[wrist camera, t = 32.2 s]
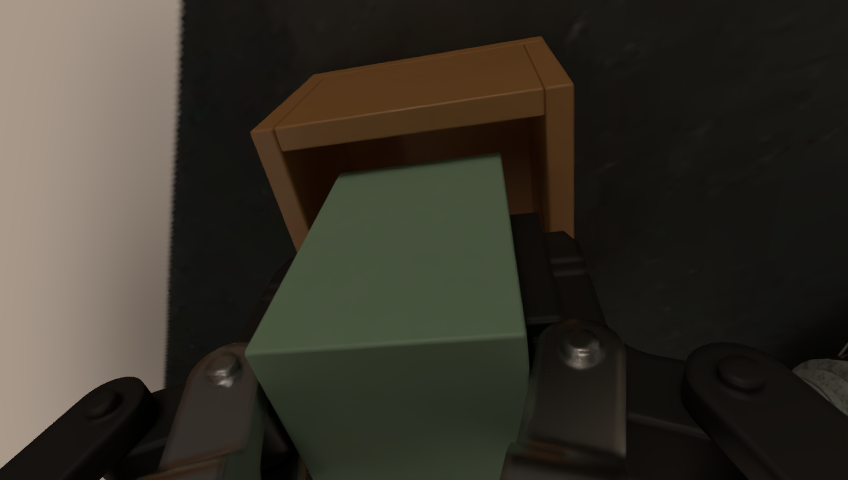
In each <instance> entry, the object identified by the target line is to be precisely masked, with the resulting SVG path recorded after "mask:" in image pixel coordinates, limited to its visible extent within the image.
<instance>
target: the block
mask: <svg viewBox="0 0 848 480" xmlns="http://www.w3.org/2000/svg"><path fill="white" fill-rule="evenodd" d="M245 357H246V359H247V361H248V363H249V365H250V366H251V368H252V370H253V372H254V374H255V375H256V377H257V379H258V381H259V383H260V384H261V386H262V388H263V390H264V392H265V393H266V395H267V397H268V399H269V401H270V402H271V404H272V406H273V408H274V410H275V411H276V413H277V415H278V417H279V419H280V420H281V422H282V424H283V426H284V428H285V429H286V431H287V433H288V435H289V437H290V439H291V440H292V442H293V444H294V446H295V448H296V449H297V451H298V453H299V455H300V457H301V458H302V460H303V462H304V464H305V466H306V467H307V469H308V471H309V473H310V475H311V476H312V478H313V480H500V476H501V472H502V467H503V463H504V458H505V455H506V452H507V449H508V447H509V445H510V443H511V442H514V443H515V442H516V440H517V437H518V433H519V428H520V423H521V418H522V414H523V409H524V404H525V399H526V394H527V389H528V384H529V379H530V369H529V356H528V344H527V333H526V326H525V319H524V312H523V305H522V298H521V291H520V284H519V277H518V270H517V263H516V256H515V249H514V242H513V235H512V228H511V221H510V214H509V207H508V200H507V193H506V186H505V179H504V173H503V166H502V159H501V154H500V153H499V152H496V153H488V154H481V155H473V156H466V157H458V158H451V159H443V160H436V161H428V162H420V163H413V164H405V165H398V166H390V167H383V168H375V169H368V170H360V171H352V172H345V173H341V174H339V176H338V178H337V180H336V182H335V184H334V186H333V187H332V189H331V191H330V193H329V195H328V197H327V199H326V201H325V202H324V204H323V206H322V208H321V210H320V212H319V214H318V216H317V217H316V219H315V221H314V223H313V225H312V227H311V229H310V231H309V232H308V234H307V236H306V238H305V240H304V242H303V244H302V245H301V247H300V249H299V251H298V253H297V255H296V257H295V259H294V260H293V262H292V264H291V266H290V268H289V270H288V272H287V274H286V275H285V277H284V279H283V281H282V283H281V285H280V287H279V289H278V290H277V292H276V294H275V296H274V298H273V300H272V302H271V303H270V305H269V307H268V309H267V311H266V313H265V315H264V317H263V318H262V320H261V322H260V324H259V326H258V328H257V330H256V332H255V333H254V335H253V337H252V339H251V341H250V343H249V345H248V346H247V348H246V350H245Z"/></svg>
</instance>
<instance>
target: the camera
mask: <svg viewBox="0 0 848 480" xmlns="http://www.w3.org/2000/svg"><path fill="white" fill-rule="evenodd" d="M792 372H793V373H795V374H796V375H797V376H798V377H800V378H801V379H802V380H803V381H805V382H806V383H807V384H808V385H810V386H811V387H812V388H813V389H815V390H816V391H817V392H818V393H820V394H821V395H822V396H823V397H824V398H826V399H827V400H828V401H829V402H831V403H832V404H833V405H834V406H836V407H837V408H838V409H839V410H841V411H842V412H843V413H844V414H846V415H847V416H848V343H847V344H846V346H845V347H844V348H843V349H842V351H841V352H840V353H839V355H838V356H835V357H831V358H827V359H812V360H809V361H806V362H803V363H801V364H800V365H798V366H797V367H795V368H794V369H793V370H792Z"/></svg>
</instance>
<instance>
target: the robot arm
mask: <svg viewBox="0 0 848 480" xmlns="http://www.w3.org/2000/svg"><path fill="white" fill-rule="evenodd" d="M510 221H511V228H512V235H513V242H514V249H515V256H516V263H517V270H518V277H519V284H520V291H521V298H522V305H523V312H524V319H525V326H526V333H527V344H528V356H529V369H530V379H529V384H528V389H527V394H526V399H525V404H524V409H523V414H522V418H521V423H520V428H519V433H518V437H517V440H516V442H515V443H514V442H511V443H510V445H509V447H508V449H507V452H506V455H505V458H504V463H503V467H502V472H501V476H500V480H629V479H631V480H848V416H847V415H846V414H844V413H843V412H842V411H841V410H839V409H838V408H837V407H836V406H834V405H833V404H832V403H831V402H829V401H828V400H827V399H826V398H824V397H823V396H822V395H821V394H820V393H818V392H817V391H816V390H815V389H813V388H812V387H811V386H810V385H808V384H807V383H806V382H805V381H803V380H802V379H801V378H800V377H798V376H797V375H796V374H795V373H793V372H792V371H791V370H790V369H789V368H787V367H786V366H785V365H784V364H782V363H781V362H780V361H778V360H777V359H775V358H774V357H772V356H770V355H768V354H767V353H765V352H762V351H760V350H758V349H755V348H752V347H749V346H746V345H741V344H736V343H725V342H719V343H711V344H707V345H703V346H701V347H699V348H697V349H695V350H694V351H693V352H692V353H691V354H690V355H689V356H688V358H687V360H686V361H683V360H678V359H672V358H667V357H661V356H656V355H652V354H647V353H644V352H641V351H638V350H636V349H634V348H632V347H630V346H628V345H626V344H625V343H623V341H622V340H621V338H620V337H619V336H618V335H617V334H616V333H615V332H614V331H613V330H612V329H610V328H609V327H608V325H607V323H606V321H605V318H604V315H603V312H602V309H601V307H600V304H599V301H598V298H597V295H596V292H595V289H594V287H593V284H592V281H591V278H590V275H589V274H588V270H587V267H586V264H585V261H584V259H583V255H582V252H581V250H580V247H579V244H578V242H577V241H575V240H574V239H573V238H572V237H571V236H569V235H568V234H567V233H566V232H565V231H557V232H547V233H543V230H542V226H541V222H540V218H539V214H538V212H532V213H522V214H513V215H510ZM294 259H295V258H290V259H289V260H288V261H287V262H286V263H285V264H284V265H283V266H282V267H280V268H279V269H278V270H277V271H276V272H275V274H274V275H273V277H272V279H271V281H270V283H269V284H268V286H267V290H265V291H264V293H263V295H262V297H261V298H260V302H258V304H257V305H256V307H255V309H254V311H253V312H252V314H251V316H250V318H249V319H248V321H247V323H246V325H245V327H244V328H243V330H242V332H241V334H240V335H239V337H238V339H237V341H236V342H235V343H234V344H229V345H226V346H224V347H221V348H219V349H217V350H215V351H213V352H212V353H210V354H209V355H207V356H206V357H205V358H203V359H202V360H201V361H200V362H199V363H198V364H197V365H196V366H195V368H194V369H193V370H192V372H191V373H190V375H189V377H188V380H187V382H184V383H181V384H178V385H175V386H172V387H169V388H165V389H162V390H159V391H156V392H153V393H151V392H150V391H149V390H148V388H147V387H146V386H145V385H144V383H143V382H142V381H141V380H140V379H138V378H136V377H122V378H118V379H114V380H112V381H109V382H107V383H105V384H103V385H101V386H99V387H97V388H95V389H94V390H92V391H91V392H89V393H88V394H87V395H85V396H84V397H83V398H82V399H81V400H79V401H78V402H77V403H76V404H75V405H74V406H72V407H71V408H70V409H69V410H68V411H67V412H66V413H64V414H63V415H62V416H61V417H60V418H59V419H57V420H56V421H55V422H54V423H53V424H52V425H50V426H49V427H48V428H47V429H46V430H45V431H44V432H42V433H41V434H40V435H39V436H38V437H37V438H35V439H34V440H33V441H32V442H31V443H30V444H29V445H27V446H26V447H25V448H24V449H23V450H22V451H21V452H19V453H18V454H17V455H16V456H15V457H14V458H12V459H11V460H10V461H9V462H8V463H7V464H6V465H4V466H3V467H2V468H1V469H0V480H100V479H101V478H102V477H103V478H104V479H106V480H306V469H307V467H306V466H305V464H304V462H303V460H302V458H301V457H300V455H299V453H298V451H297V449H296V448H295V446H294V444H293V442H292V440H291V439H290V437H289V435H288V433H287V431H286V429H285V428H284V426H283V424H282V422H281V420H280V419H279V417H278V415H277V413H276V411H275V410H274V408H273V406H272V404H271V402H270V401H269V399H268V397H267V395H266V393H265V392H264V390H263V388H262V386H261V384H260V383H259V381H258V379H257V377H256V375H255V374H254V372H253V370H252V368H251V366H250V365H249V363H248V361H247V359H246V357H245V350H246V348H247V346H248V345H249V343H250V341H251V339H252V337H253V335H254V333H255V332H256V330H257V328H258V326H259V324H260V322H261V320H262V318H263V317H264V315H265V313H266V311H267V309H268V307H269V305H270V303H271V302H272V300H273V298H274V296H275V294H276V292H277V290H278V289H279V287H280V285H281V283H282V281H283V279H284V277H285V275H286V274H287V272H288V270H289V268H290V266H291V264H292V262H293V260H294Z"/></svg>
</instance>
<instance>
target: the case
mask: <svg viewBox="0 0 848 480" xmlns="http://www.w3.org/2000/svg"><path fill="white" fill-rule="evenodd" d="M251 136H252V139H253V141H254V144H255V147H256V149H257V152H258V154H259V157H260V159H261V162H262V164H263V167H264V169H265V172H266V174H267V177H268V180H269V182H270V185H271V187H272V190H273V192H274V195H275V197H276V200H277V202H278V205H279V207H280V210H281V213H282V215H283V218H284V220H285V223H286V225H287V228H288V230H289V233H290V235H291V238H292V241H293V243H294V246H295V248H296V251H297V253H298V251H299V249H300V247H301V245H302V244H303V242H304V240H305V238H306V236H307V234H308V232H309V231H310V229H311V227H312V225H313V223H314V221H315V219H316V217H317V216H318V214H319V212H320V210H321V208H322V206H323V204H324V202H325V201H326V199H327V197H328V195H329V193H330V191H331V189H332V187H333V186H334V184H335V182H336V180H337V178H338V176H339V174H341V173H345V172H352V171H360V170H368V169H375V168H383V167H390V166H398V165H405V164H413V163H420V162H428V161H436V160H443V159H451V158H458V157H466V156H473V155H481V154H488V153H496V152H499V153H500V154H501V159H502V166H503V173H504V179H505V186H506V193H507V200H508V207H509V214H510V215H513V214H522V213H532V212H538V214H539V218H540V222H541V226H542V230H543V233H547V232H557V231H565V232H566V233H567V234H568V235H569V236H571V237H572V238H573V239H574V84H573V82H572V81H571V79H570V78H569V76H568V75H567V73H566V72H565V71H564V69H563V68H562V66H561V65H560V63H559V62H558V60H557V59H556V57H555V56H554V54H553V53H552V52H551V50H550V49H549V47H548V46H547V44H546V43H545V41H544V39H543V38H542V37H541V36H539V37H533V38H527V39H521V40H515V41H509V42H503V43H497V44H492V45H486V46H480V47H474V48H468V49H462V50H456V51H450V52H444V53H438V54H432V55H426V56H420V57H414V58H408V59H402V60H396V61H390V62H384V63H379V64H373V65H367V66H361V67H355V68H349V69H343V70H337V71H331V72H325V73H319V74H314V75H313V76H312V77H310V78H309V80H307V81H306V82H305V83H304V84H303V85H302V86H301V87H300V88H299V89H297V90H296V91H295V92H294V93H293V94H292V95H291V96H290V97H289V98H287V99H286V100H285V101H284V102H283V103H282V104H281V105H280V106H279V107H277V108H276V109H275V110H274V111H273V112H272V113H271V114H270V115H269V116H267V117H266V118H265V119H264V120H263V121H262V122H261V123H260V124H259V125H258V126H256V127H255V128H254V129H253V130H252V131H251Z"/></svg>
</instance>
